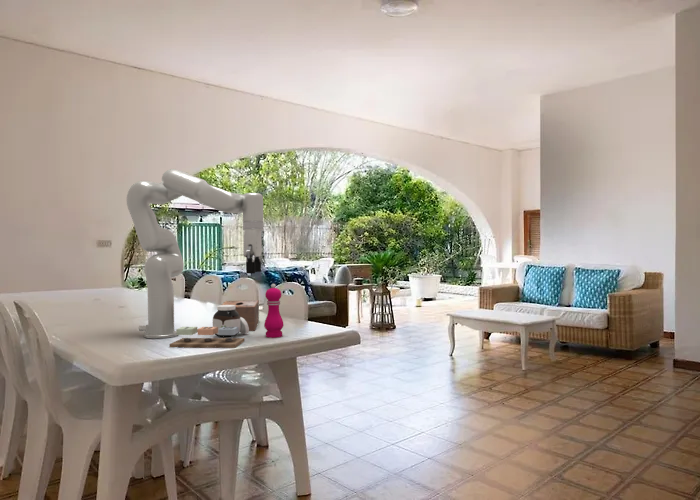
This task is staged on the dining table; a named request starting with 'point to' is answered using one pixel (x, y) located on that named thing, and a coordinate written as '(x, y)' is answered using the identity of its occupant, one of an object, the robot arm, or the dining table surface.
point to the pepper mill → (273, 313)
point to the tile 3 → (228, 330)
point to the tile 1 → (186, 330)
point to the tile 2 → (207, 330)
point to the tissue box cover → (247, 311)
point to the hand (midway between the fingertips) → (253, 272)
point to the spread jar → (229, 320)
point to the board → (208, 342)
